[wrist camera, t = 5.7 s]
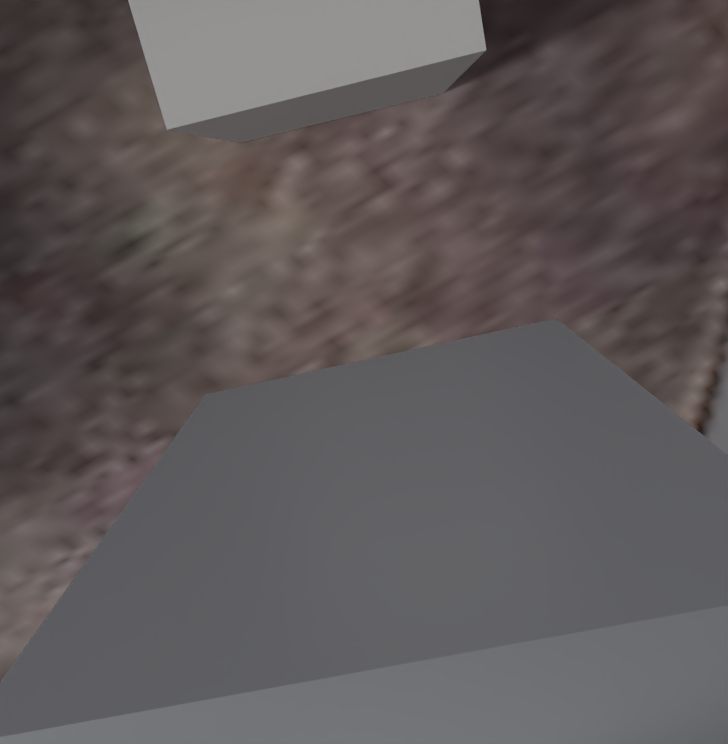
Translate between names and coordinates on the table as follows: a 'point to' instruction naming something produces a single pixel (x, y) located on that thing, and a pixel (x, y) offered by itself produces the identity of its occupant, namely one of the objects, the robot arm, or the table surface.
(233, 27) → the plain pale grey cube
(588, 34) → the table surface
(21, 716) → the grey arch block
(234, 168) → the table surface
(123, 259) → the table surface
